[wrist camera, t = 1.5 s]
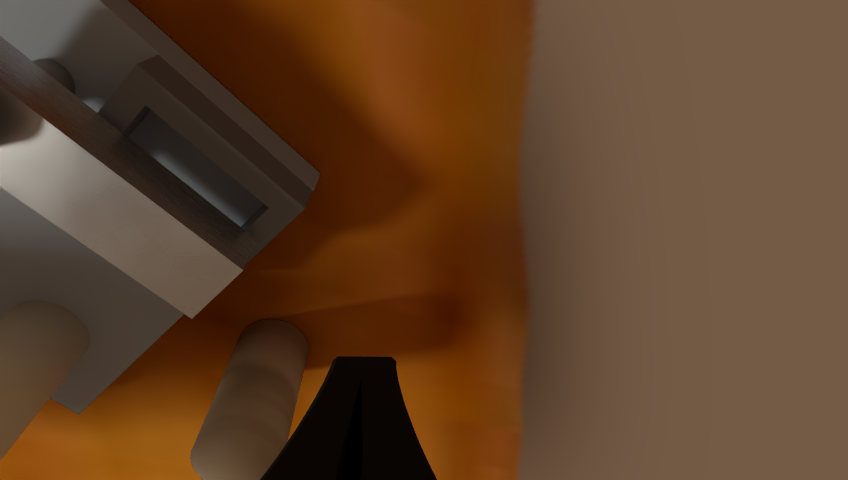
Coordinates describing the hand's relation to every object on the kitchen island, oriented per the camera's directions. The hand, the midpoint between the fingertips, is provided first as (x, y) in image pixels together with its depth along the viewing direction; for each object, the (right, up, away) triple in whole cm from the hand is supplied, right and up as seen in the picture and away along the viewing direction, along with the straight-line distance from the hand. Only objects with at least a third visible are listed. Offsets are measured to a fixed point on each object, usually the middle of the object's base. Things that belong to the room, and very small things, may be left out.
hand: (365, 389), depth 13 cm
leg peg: (-5, -1, +11) cm, 12 cm away
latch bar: (-8, +6, +4) cm, 10 cm away
